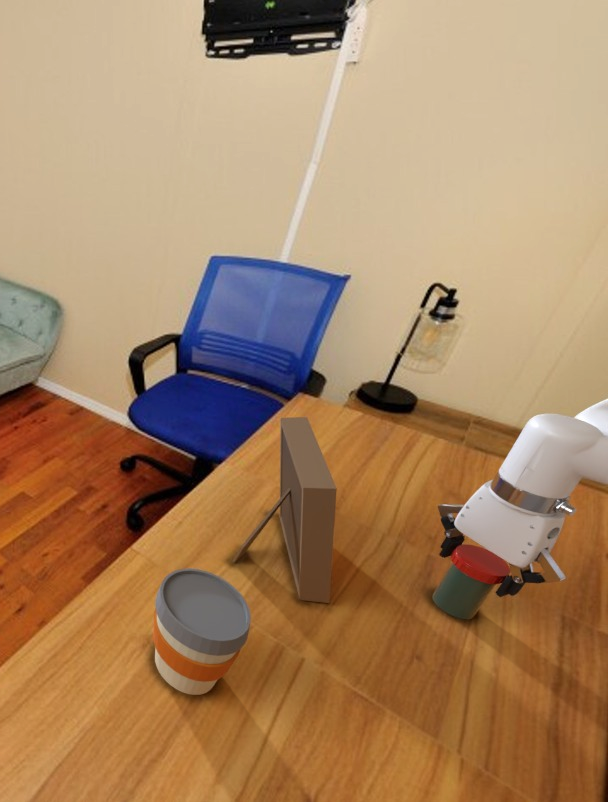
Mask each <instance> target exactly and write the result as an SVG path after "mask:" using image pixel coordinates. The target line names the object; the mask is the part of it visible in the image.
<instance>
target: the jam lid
mask: <svg viewBox="0 0 608 802" xmlns="http://www.w3.org/2000/svg"><path fill="white" fill-rule="evenodd" d="M451 555H452V556H450V559H451V563H452V562H453V564H454V565H455V566H456V567H457V568H458V569H459V570H460V571H462V572H463V573H464V574H466V575H468V576H470V577H471V578H474V579H476V580H478V581H481V582H484V583H488V584H496V585H501V584H502V582H503V581H504V579H505V578H506V577H508V576H510V574H511V570H510V565H509V563H508V562H507V561H505V560H503V559H502V558H500V557H499V556H497V555H496V554H494V553H492V552H491V551H489V550H488V549H486V548H484V547H482V546H477V545H474V544H469V543H467V544H466V543H465V544H463V543H462V545H459V546H457V547H456V549H454V551H453V553H452V554H451Z"/></svg>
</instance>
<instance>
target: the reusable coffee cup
mask: <svg viewBox="0 0 608 802" xmlns="http://www.w3.org/2000/svg"><path fill="white" fill-rule="evenodd" d="M154 605H155V606H154V607H155V608H154V612H153V629H152V640H153V645H154V648H155V649H154V662H155V666H156V668H157V671H158V673H159V674H160V677H162V679H163V680H164V681H165V682H166V683H167V684H168V685H169V686H171V687H172V688H174V689H175V690H176V691H179V692H180V693H184V694H185V695H193V696H197V695H198V696H199V695H200V696H201V695H204V694H207V693H208V692H210V691H211V690H212V689H213V687H214V686H215V685H216V683H217V682H218V680H220V679H221V678H223V677H224V676H225V675H226V674H227V673H228V671H229V670H230V668H231V667H232V666H233V664H234V662H235V661H236V660H237V659H238V657H239V654H240V652H241V650H242V648H243V647H244V646H245V644H246V642H247V640H248V638H249V634H250V629H251V621H252V616H251V610H250V608H249V605H248V602H247V601H246V599H245V598H244V596H243V595H242V594H241V592H240V591H239V590H238V589H237V588H236V587H234V585H233V584H232V583H230V582H229V581H227V580H226V579H224V578H222V577H220V576H219V575H217V574H215V573H212V572H209V571H207V570H203V569H199V568H190V567H189V568H180V569H176V570H174V571H171V572H170V573H168V574H167V575H166V576H165V577H164V578H163V580H162V582H161V583H160V586H159V588H158V591H157V592H156V596H155V599H154Z"/></svg>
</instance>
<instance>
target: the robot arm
mask: <svg viewBox="0 0 608 802" xmlns="http://www.w3.org/2000/svg"><path fill="white" fill-rule="evenodd" d="M582 479H586V480H589V481H593V482H597V483H600V484H603V485H605V486H608V398H606V399H604V400H601V401H599V402H597V403H595V404H593V405H591V406H589V407H586V409H584V410H582V411H581V412H579V413H577V414H576V415H575V416H574V417H572V416H569V415H566V414H565V415H564V414H558V413H540V414H537V415H534V416H533V417H531V418H529V420H528V421H527V422H526V423H525V425H524V427H523V429H522V430H521V432H520V434H519V436H518V437H517V438H516V441H515V442H514V444H513V445H512V447H511V448H510V451H509V452H508V454H507V455H506V457H505V459H504V461H503V462H502V464H501V465H500V467H499V469H498V471H496V474H495V476H494V478H493V479H491V480H489V481H486V482H485V483H484V484H482V485H481V486H480V487H479V488H478V489H477V490H476V491H475V492H474V493H473V494H472V495H471V496H470V498H469V499H468V500H467V501H466V502H465V504H457V503H445V502H444V503H441V504H438V505H437V509H438V512H439V513H438V514H439V516H440V522H441V525H442V526H443V529H444V532H443V534H444V536H445V538H444V540H443V541H442V543H441V545H440V549H441V550H440V552H439V554H438V556H439V557H441V558H445V559H446V558H448V557H451V556H452V555H451V554H452V553H453V551H454V549H456V547H457V546H459V545H463V543H464V542H465V540H466V539H465V538H466V537H467V538H469V539H470V540H471V541H473V542H475V543H476V544H478V545H480V547H482V548H484V549H486V550H488V551H490V552H492V553H494V554H496V555H497V556H499V557H500V558H502V559H503V560H504V561H505V562H506V563H507V564H508V566H509V567H510V574H511V575H509V576H508V577H506V578H505V579H504V581H503V582H502V583H501V584H499V587H498V588H497V589H496V591H495V592H494V593H495V595H496V596H497V597H499V598H503V597H505V596H508V595H509V596H511V597H513V596H516V595H517V594H519V593H520V591H521V590H522V588H524V586H525V584H545V583H559V582H562V581H564V580H566V574H565V573H564V572H563V571H562V569H561V567H560V566H559V565H558V563H557V562H556V561H555V559H554V558H553V557H552V555H551V554H550V553H551V551H553V548H554V546H555V544H556V542H557V540H558V538H559V537H560V534H561V533H562V529H563V526H564V523H565V519H566V515H567V516H569V517H572V516H573V515H575V514H576V513H577V511H578V508H576V507H574V506H572V504H570V501H569V500H571V494H572V493H573V492H574V490H575V489H576V487H577V486H578V485H579V483H580V482H581V480H582ZM454 514H457V515H456V516H455V517H454ZM465 536H466V537H465ZM533 562H535V563H537V564H539V566H540V567H541V568H542V569H543V571H544V572H541V571H539V572H538V571H537V572H535V571H534V567H533Z"/></svg>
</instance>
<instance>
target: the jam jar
mask: <svg viewBox="0 0 608 802" xmlns="http://www.w3.org/2000/svg"><path fill="white" fill-rule="evenodd" d="M496 586H497V584H488V583H484V582H481V581H478V580H476V579H474V578H471V577H470V576H468V575H466V574H464V573H463V572H462V571H460V570H459V569H458V568H457V567H456V566H455V565H454V564H453V562H452V561H451V564H450V566H449V567H448V569H447V571H446V572H445V574H444V575H443V577H442V578H441V580H440V581H439V584H438V585H437V587H436V588H435V590H434V592H433V593H432V595H431V596H432V597H431V598H432V600H433V603H434V604H435V605H436V606H437V607H438V608H439V609H440V610H442V611H443V612H444V613H446V614H448V615H450V616H452V617H453V618H457V619H460V620H472V619H473V618H474V617H475V616H476V615H477V613H478V612H479V610H480V608H481V607H482V606H483V605H484V603H485V601H486V600H487V598H488V597H489V595H491V593H492V591H493V590H494V589H495V587H496Z"/></svg>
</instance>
